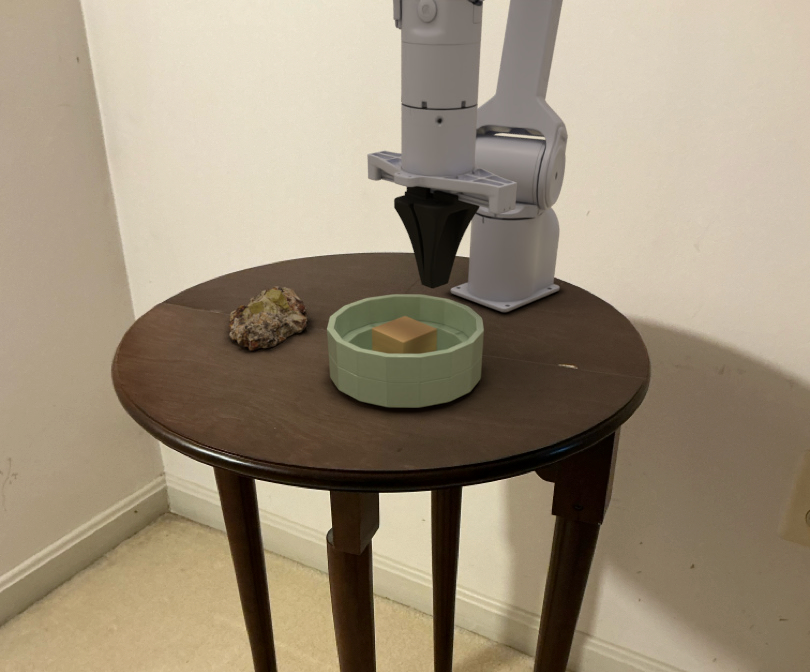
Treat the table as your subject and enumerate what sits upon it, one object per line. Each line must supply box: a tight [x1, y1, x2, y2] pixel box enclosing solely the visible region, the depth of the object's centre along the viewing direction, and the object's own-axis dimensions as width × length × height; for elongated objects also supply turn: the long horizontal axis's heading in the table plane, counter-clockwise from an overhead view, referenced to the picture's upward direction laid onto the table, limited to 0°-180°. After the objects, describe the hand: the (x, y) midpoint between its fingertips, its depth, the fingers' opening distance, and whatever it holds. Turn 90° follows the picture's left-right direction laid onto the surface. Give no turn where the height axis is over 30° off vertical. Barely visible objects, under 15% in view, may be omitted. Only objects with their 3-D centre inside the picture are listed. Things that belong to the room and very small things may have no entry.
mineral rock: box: [228, 285, 308, 352], centre depth 76 cm, size 11×4×8 cm
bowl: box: [326, 293, 485, 409], centre depth 67 cm, size 13×13×5 cm
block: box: [372, 316, 437, 354], centre depth 67 cm, size 4×4×4 cm
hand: (434, 283), depth 66 cm, fingers closed
